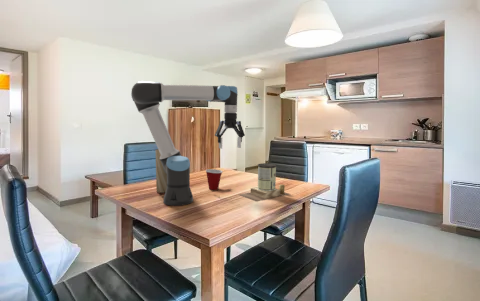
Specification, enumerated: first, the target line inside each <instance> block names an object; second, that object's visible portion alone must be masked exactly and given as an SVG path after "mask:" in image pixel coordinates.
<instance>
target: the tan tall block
mask: <svg viewBox="0 0 480 301" xmlns="http://www.w3.org/2000/svg"><path fill="white" fill-rule="evenodd" d="M154 151H155V180H156V181H155V183H156V184H155V186H156V188H155V189H156V190H155V191H156V192H157V193H165V192H166V189H167V174H166V173H165V171H164V169H163V166H162V163H161V161H160V159H159V158H160V156H161V154H160V152H159V149H158V148H157V149H155V150H154Z"/></svg>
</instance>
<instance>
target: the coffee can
mask: <svg viewBox="0 0 480 301" xmlns="http://www.w3.org/2000/svg"><path fill="white" fill-rule="evenodd" d="M276 176H277V164H275V163H271V162H269V163H267V162H266V163H265V162H262V163H258V164H257V187H258V190H261V191H274V190H275V188H276V184H277V183H276V180H277V178H276Z"/></svg>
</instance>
